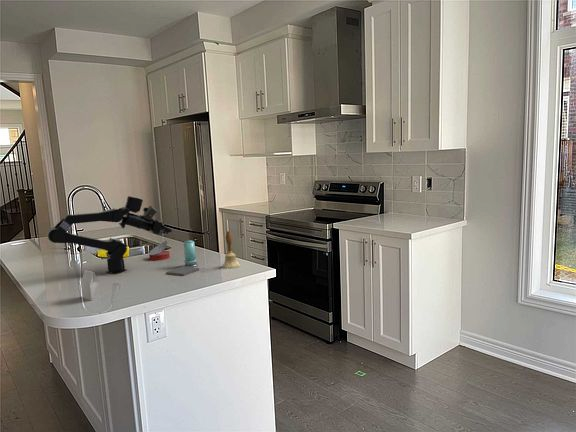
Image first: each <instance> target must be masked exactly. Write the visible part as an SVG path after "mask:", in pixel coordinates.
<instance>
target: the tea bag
mask: <svg viewBox="0 0 576 432" xmlns="http://www.w3.org/2000/svg"><path fill="white" fill-rule="evenodd" d="M80 286H81V295H82V299H85V300H88V301H91V302H92V301H95V300H99V299H102V288H101V282H100V280H99V279H98V277H97V276H96V273H95V271H90V270H85V269H84V270H83V275H82V279H81V281H80Z"/></svg>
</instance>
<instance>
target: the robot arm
mask: <svg viewBox="0 0 576 432" xmlns="http://www.w3.org/2000/svg"><path fill="white" fill-rule="evenodd" d="M143 201H144V199H141V198H139V197H134V196H130V195H129V196H127V198H126V202H125V205H124V206H123V207H119V208H118V209H117V208H110V209H106V210H103V211H98V212H90V213H78V214H70V213H69V214H66V215H65V216H64V217H63V218H62V219H61V220H60V221H59V222H58V223H57V224H56V225H54V227H51V228H49V229H47V232H46V237H47V239H48V240H49V241H50V242H52V244H53V243H54V244H74V245H79V246H85V247H90V248H94V249H100V250H104V251H106V253H105V256H106V257H107V258H108V259H107V258H106V262H107V264H106V265H107V270H106V271H105V273H106V274H107V273H108V274H114V275H115V274H119V273H122V272H125V271H128V270H127V268H125V267H126V266H125V259H124V255H125V254H126V253H127V250H128V248H127V247H128V246H127V245H126V243H123V241H122V240H120V239H114V238H111V237H109V239H108V240H102V239H99V238H93V237H88V236H84V235H79V234H74V233H71V232H69V229H70V228H71V227H72V226H73V224H84V223H95V222H109V223H118V225H119V226H120V228H121V229H125V228H126V226H128V227H131V228H132V227H133V228H136V229H139V230H143V231H147V232H150V233H151V234H155V235H161V234H167V233H172V232H173V231H172V229H171V228H169V227H167V226H165V225H164V224H163V221H161V220H158V219H154V218H153V217H154V216H155V214H157V212H158V209H157V208H155V207H154V206H153V205H150V206H148V207H144V208H143V209H142V211H143V214H142V215H139V214H138V213H139V212H140V211H141V208H142V205H143Z"/></svg>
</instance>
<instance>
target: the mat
mask: <svg viewBox="0 0 576 432" xmlns="http://www.w3.org/2000/svg"><path fill="white" fill-rule="evenodd" d="M198 271H200V267H184V266H179V267H177V268H173V269H171V270H168V271H166V272H165V274H166V275H171V276H182V277H184V276H188V275H190V274H193V273H195V272H198Z"/></svg>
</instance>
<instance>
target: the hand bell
mask: <svg viewBox="0 0 576 432" xmlns="http://www.w3.org/2000/svg"><path fill="white" fill-rule="evenodd" d="M225 240H226V241H225V242H226V244H227V253H226V254H225V255H224V256H225V258H224V262H223V264H222V265H221V268H223V269H227V268H228V269H235V268H238V267H240V266H241V264H240V263H239V262H238V260H237V257H236V256H237V255H236V254H235V253H233V250H232V242H233V238H232V234H231V231H229V230H227V231H226V235H225Z"/></svg>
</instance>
